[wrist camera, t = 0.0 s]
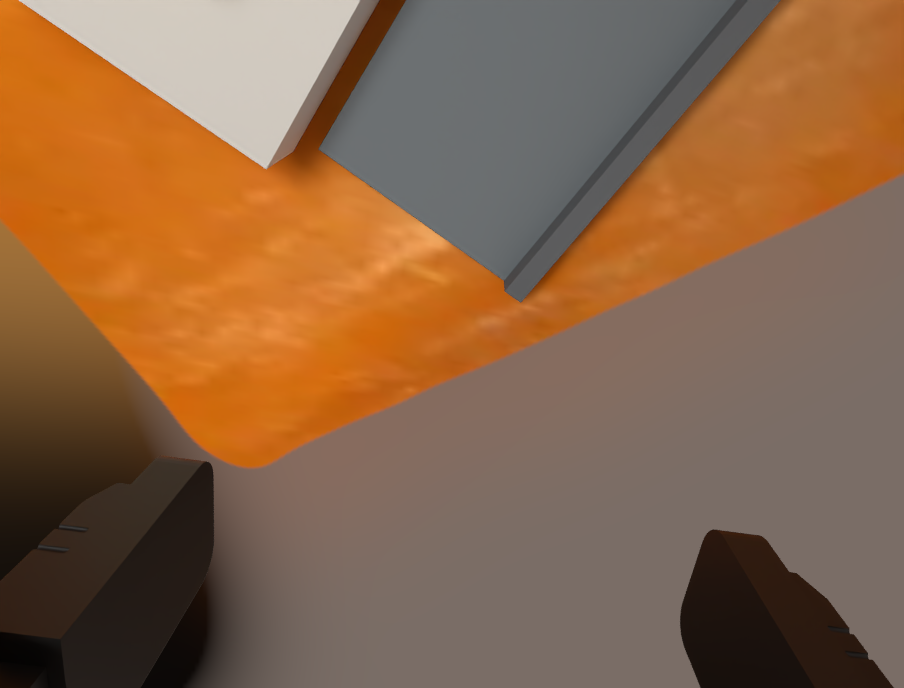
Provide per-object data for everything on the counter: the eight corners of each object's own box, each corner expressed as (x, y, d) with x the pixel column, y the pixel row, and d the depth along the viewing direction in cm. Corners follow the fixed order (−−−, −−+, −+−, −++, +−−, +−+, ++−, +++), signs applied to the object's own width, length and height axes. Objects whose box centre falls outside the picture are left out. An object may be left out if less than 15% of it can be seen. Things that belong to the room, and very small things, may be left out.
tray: (571, -277, 22) (578, -303, 20) (799, -45, 24) (823, -50, 23) (321, 146, 29) (310, 154, 27) (518, 287, 32) (520, 302, 30)
